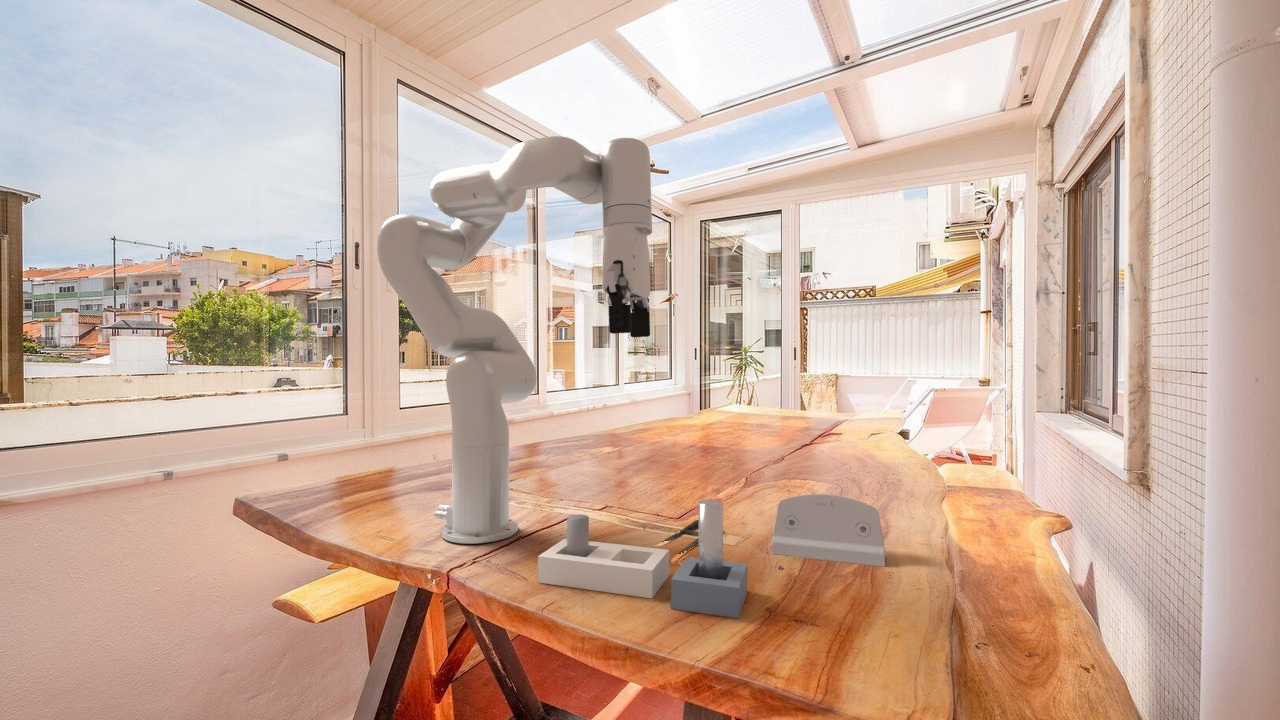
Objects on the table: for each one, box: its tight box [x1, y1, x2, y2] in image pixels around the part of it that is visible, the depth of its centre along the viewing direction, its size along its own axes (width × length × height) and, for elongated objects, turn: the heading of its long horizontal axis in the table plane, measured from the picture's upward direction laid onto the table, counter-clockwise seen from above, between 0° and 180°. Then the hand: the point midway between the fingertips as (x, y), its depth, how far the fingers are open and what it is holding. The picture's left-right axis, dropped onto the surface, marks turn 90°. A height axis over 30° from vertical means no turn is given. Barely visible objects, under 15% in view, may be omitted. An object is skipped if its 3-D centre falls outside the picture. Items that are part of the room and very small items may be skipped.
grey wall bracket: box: [771, 493, 887, 568], centre depth 85 cm, size 17×5×10 cm, turn 71°
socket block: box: [670, 556, 748, 619], centre depth 68 cm, size 8×8×4 cm
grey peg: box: [698, 499, 724, 580], centre depth 68 cm, size 3×3×12 cm
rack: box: [537, 514, 670, 599], centre depth 74 cm, size 16×8×8 cm, turn 72°
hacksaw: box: [661, 519, 726, 576], centre depth 88 cm, size 24×10×2 cm, turn 147°
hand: (630, 335), depth 83 cm, fingers open, 9 cm apart
